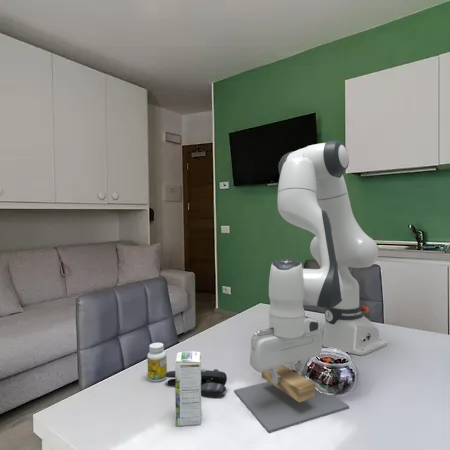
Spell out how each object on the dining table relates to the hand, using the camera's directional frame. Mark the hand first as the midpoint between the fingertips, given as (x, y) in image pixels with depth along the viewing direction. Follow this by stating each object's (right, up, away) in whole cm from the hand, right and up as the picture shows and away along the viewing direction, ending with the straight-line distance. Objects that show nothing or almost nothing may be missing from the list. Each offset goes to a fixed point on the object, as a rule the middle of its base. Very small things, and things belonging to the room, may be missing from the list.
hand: (287, 379), depth 83 cm
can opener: (-23, -6, +7) cm, 25 cm away
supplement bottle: (-35, -6, +12) cm, 37 cm away
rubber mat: (0, -5, 0) cm, 5 cm away
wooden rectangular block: (0, -2, 0) cm, 2 cm away
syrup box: (-24, -6, -7) cm, 25 cm away
